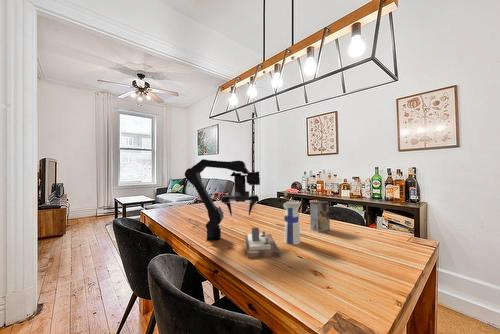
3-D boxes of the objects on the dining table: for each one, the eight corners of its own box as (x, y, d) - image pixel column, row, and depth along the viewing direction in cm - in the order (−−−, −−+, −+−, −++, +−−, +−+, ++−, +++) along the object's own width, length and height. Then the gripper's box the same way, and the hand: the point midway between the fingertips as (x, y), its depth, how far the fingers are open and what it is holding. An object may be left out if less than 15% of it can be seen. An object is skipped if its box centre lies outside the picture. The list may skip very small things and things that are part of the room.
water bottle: (280, 243, 103) (280, 191, 103) (286, 237, 111) (286, 189, 110) (297, 246, 99) (297, 192, 99) (302, 240, 107) (302, 190, 107)
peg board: (248, 257, 88) (247, 244, 87) (245, 239, 109) (245, 228, 109) (279, 256, 88) (279, 243, 88) (270, 238, 110) (270, 227, 110)
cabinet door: (249, 250, 91) (249, 234, 90) (247, 237, 106) (247, 224, 106) (270, 249, 91) (270, 234, 91) (265, 236, 107) (265, 223, 107)
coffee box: (321, 227, 128) (321, 200, 128) (330, 230, 123) (329, 202, 122) (310, 229, 124) (309, 201, 124) (318, 232, 118) (318, 203, 118)
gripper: (220, 187, 101) (220, 220, 101) (259, 186, 102) (260, 218, 103) (222, 184, 112) (222, 214, 113) (257, 184, 114) (257, 213, 114)
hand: (240, 215), depth 110 cm, fingers open, 9 cm apart
